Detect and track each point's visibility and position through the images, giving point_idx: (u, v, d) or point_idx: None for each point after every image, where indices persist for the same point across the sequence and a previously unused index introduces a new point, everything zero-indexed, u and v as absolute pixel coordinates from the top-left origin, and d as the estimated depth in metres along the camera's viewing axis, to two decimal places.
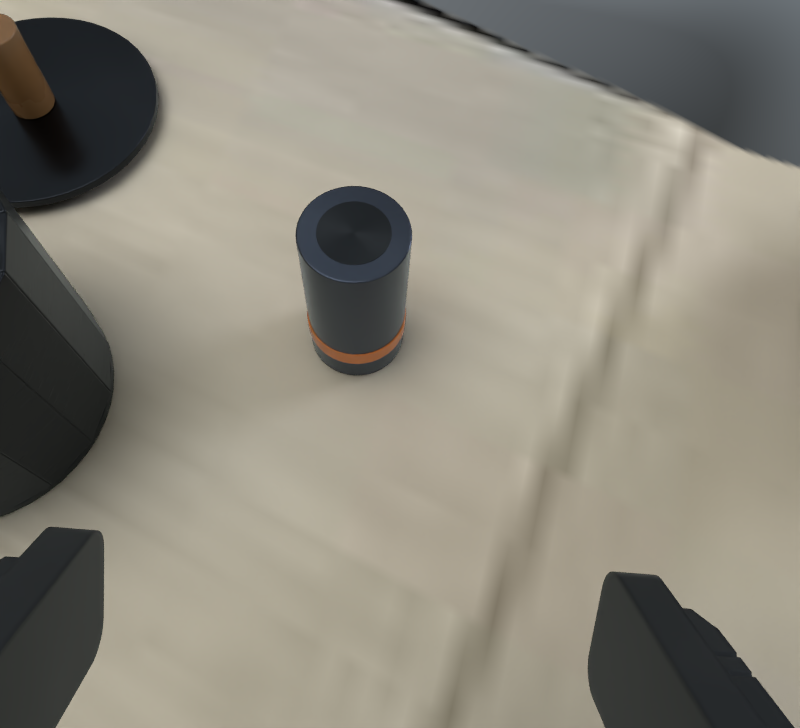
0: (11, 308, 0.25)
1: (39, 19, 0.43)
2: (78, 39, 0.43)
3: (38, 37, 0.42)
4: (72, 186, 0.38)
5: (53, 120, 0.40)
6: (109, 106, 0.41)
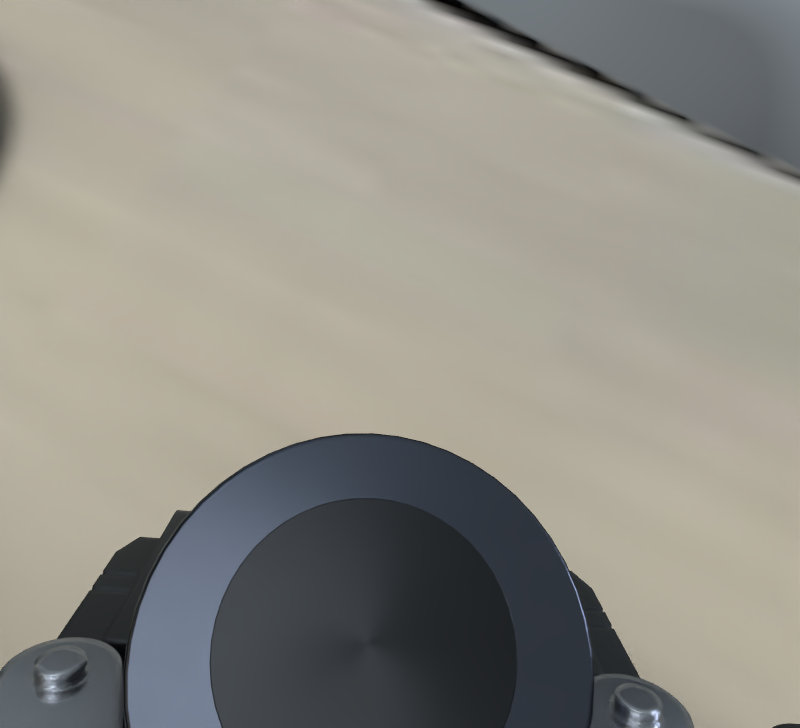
0: None
1: None
2: None
3: None
4: None
5: None
6: None
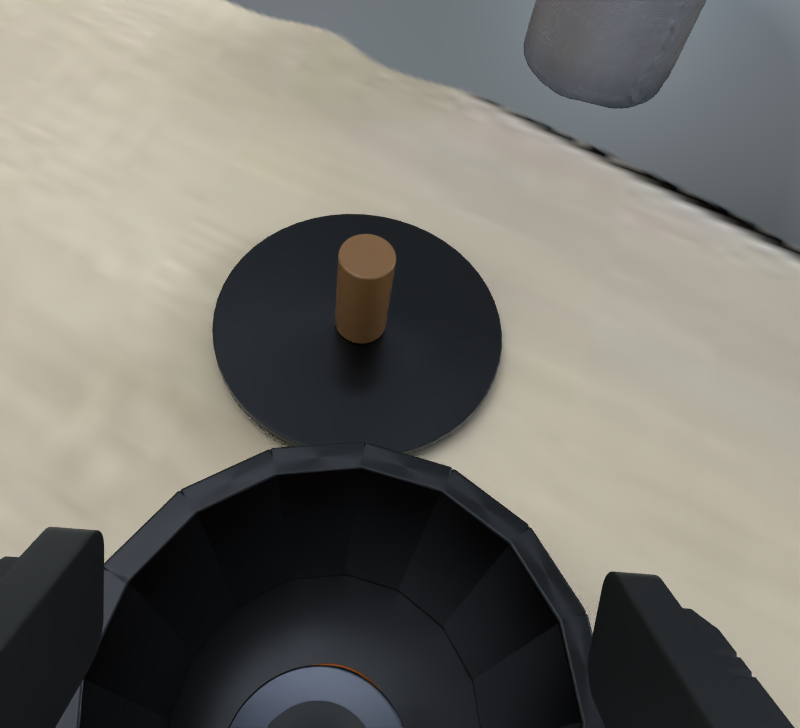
0: None
1: (353, 215, 0.37)
2: (401, 245, 0.36)
3: None
4: (421, 439, 0.31)
5: (386, 347, 0.33)
6: (448, 334, 0.34)
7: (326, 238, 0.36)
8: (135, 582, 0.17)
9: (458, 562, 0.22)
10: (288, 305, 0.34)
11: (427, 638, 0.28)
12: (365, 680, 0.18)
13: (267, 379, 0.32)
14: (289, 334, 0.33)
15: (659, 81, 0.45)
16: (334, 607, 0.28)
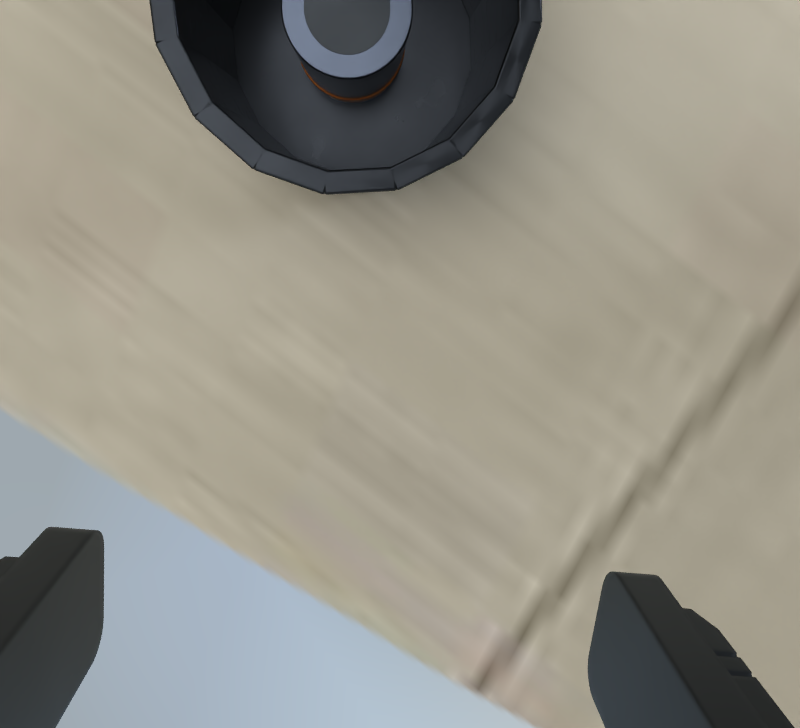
0: None
1: None
2: None
3: None
4: None
5: None
6: None
7: None
8: None
9: None
10: None
11: None
12: None
13: None
14: None
15: None
16: None
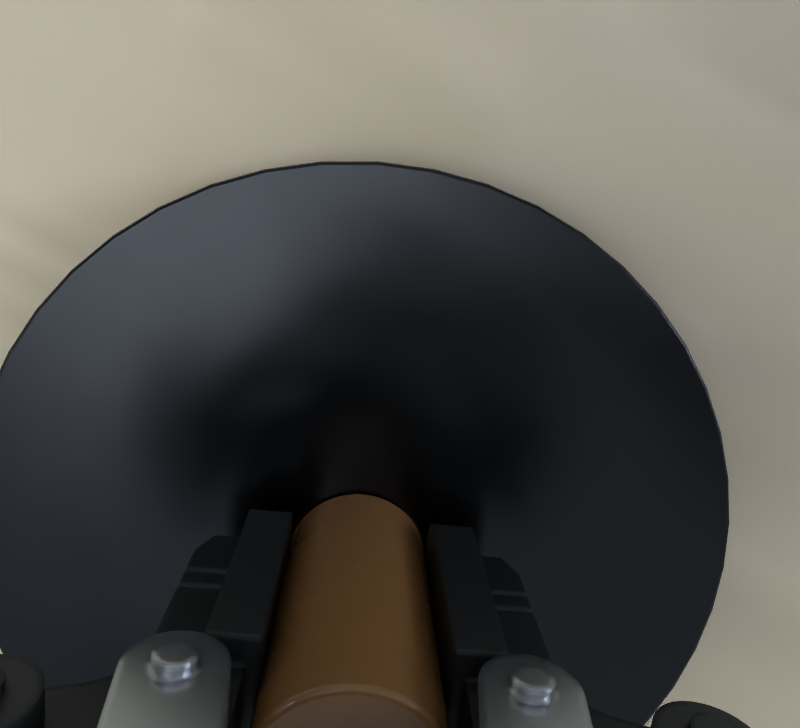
0: None
1: (341, 170, 0.11)
2: (488, 290, 0.12)
3: (346, 266, 0.12)
4: None
5: None
6: (585, 579, 0.13)
7: (255, 270, 0.12)
8: None
9: None
10: (162, 509, 0.13)
11: None
12: None
13: None
14: (174, 591, 0.13)
15: None
16: None
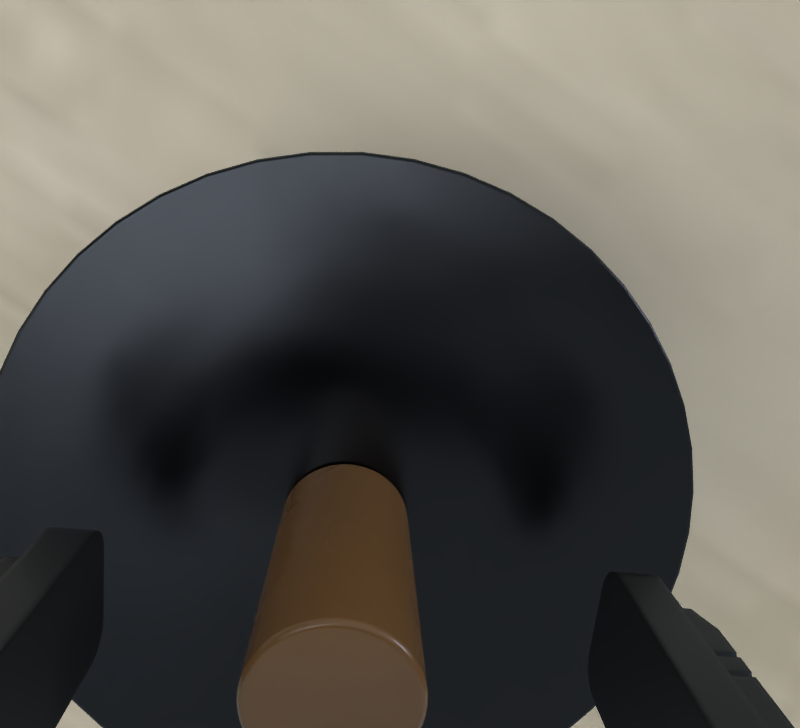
0: None
1: (328, 160, 0.12)
2: (466, 272, 0.13)
3: (333, 250, 0.12)
4: None
5: None
6: (559, 544, 0.14)
7: (249, 254, 0.12)
8: None
9: None
10: (162, 479, 0.13)
11: None
12: None
13: (135, 664, 0.14)
14: (173, 557, 0.14)
15: None
16: None
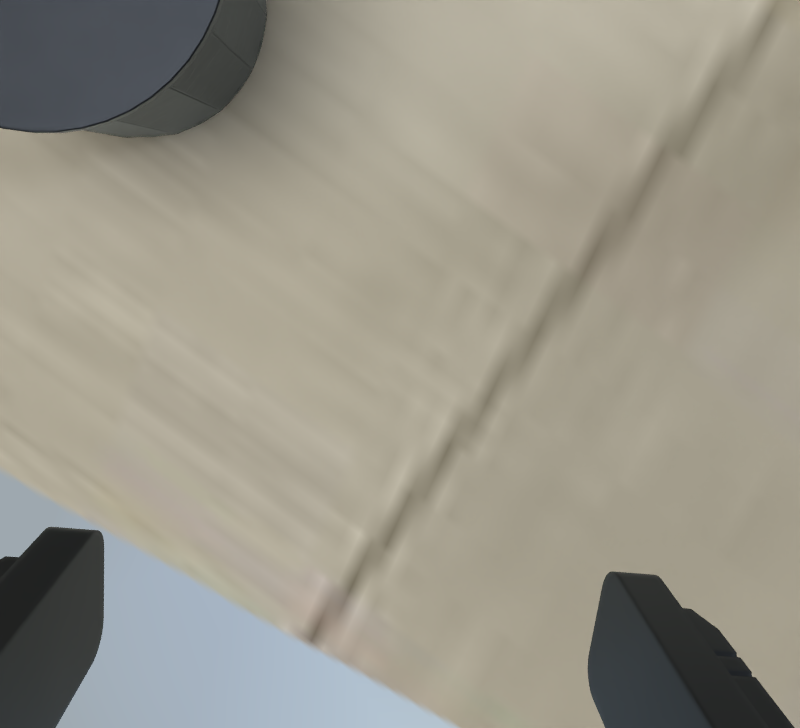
0: None
1: None
2: None
3: None
4: (113, 109, 0.24)
5: None
6: None
7: None
8: None
9: None
10: None
11: None
12: None
13: None
14: None
15: None
16: None
